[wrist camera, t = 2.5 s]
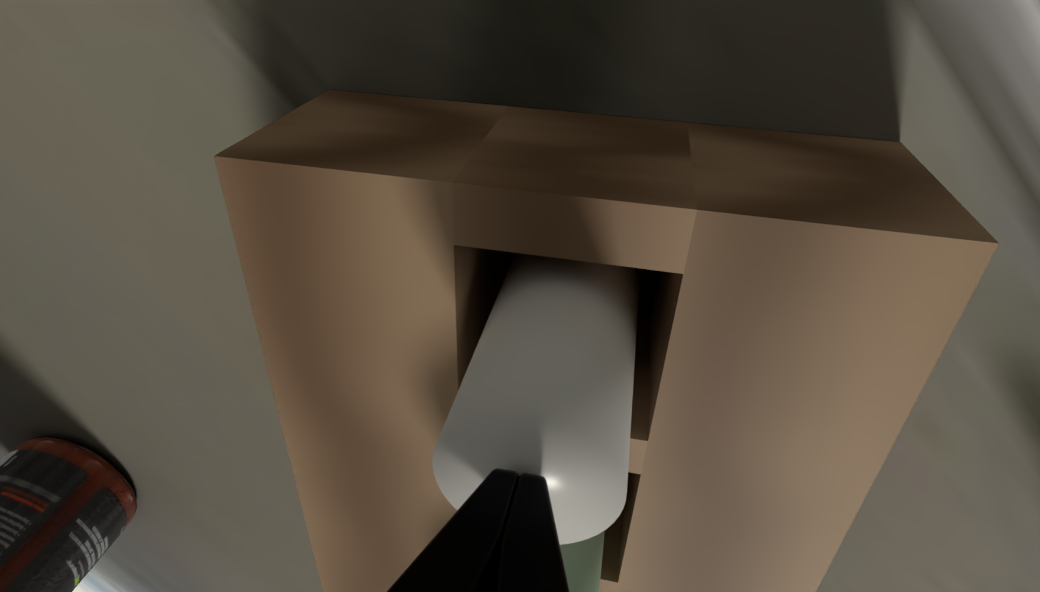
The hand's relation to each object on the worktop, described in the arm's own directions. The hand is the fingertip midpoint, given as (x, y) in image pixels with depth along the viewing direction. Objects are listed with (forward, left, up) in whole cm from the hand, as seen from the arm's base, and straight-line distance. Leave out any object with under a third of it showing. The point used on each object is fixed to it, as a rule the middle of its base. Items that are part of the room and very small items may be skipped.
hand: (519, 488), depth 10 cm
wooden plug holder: (0, +6, -9) cm, 10 cm away
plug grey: (0, 0, -6) cm, 6 cm away
